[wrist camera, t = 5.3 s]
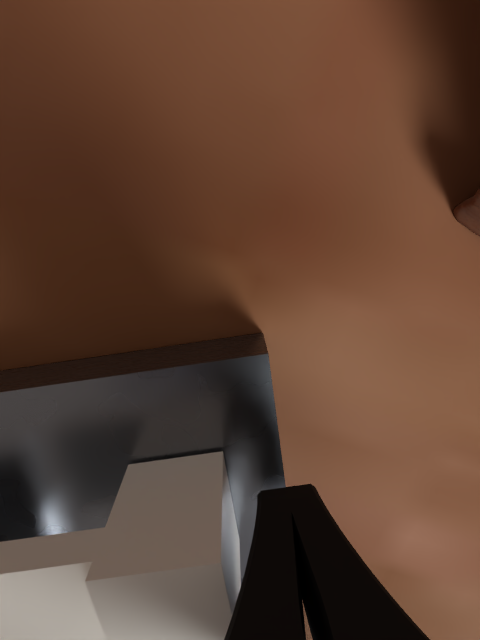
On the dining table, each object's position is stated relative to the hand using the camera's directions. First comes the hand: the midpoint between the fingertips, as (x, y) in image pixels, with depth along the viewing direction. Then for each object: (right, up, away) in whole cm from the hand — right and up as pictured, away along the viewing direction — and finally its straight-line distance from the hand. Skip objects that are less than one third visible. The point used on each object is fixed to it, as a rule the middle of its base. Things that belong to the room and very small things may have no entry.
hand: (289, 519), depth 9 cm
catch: (-4, 0, +1) cm, 4 cm away
